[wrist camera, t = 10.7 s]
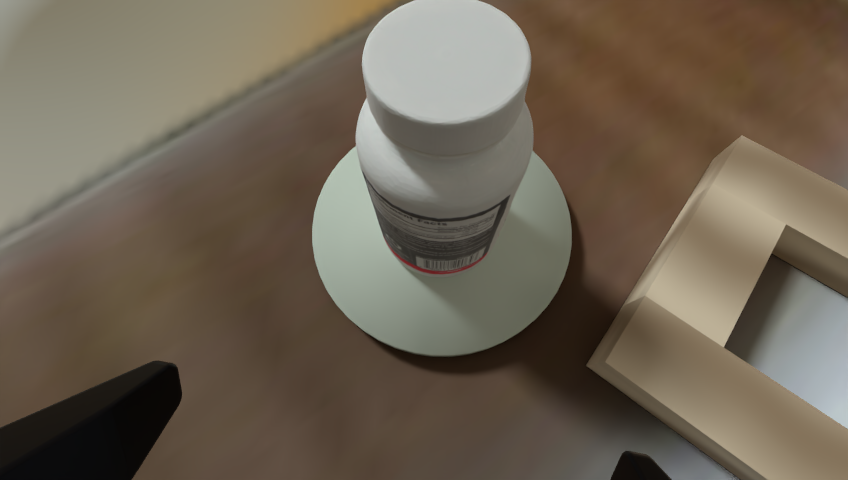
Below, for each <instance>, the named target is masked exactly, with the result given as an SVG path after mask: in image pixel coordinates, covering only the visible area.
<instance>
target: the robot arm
mask: <svg viewBox="0 0 848 480" xmlns="http://www.w3.org/2000/svg"><path fill="white" fill-rule="evenodd" d="M181 398H182V389H181V384H180V378H179V372H178V368H177V366H176V365H175V364H173V363H168V362H163V361H152V362H150V363H147V364H145V365H143V366H141V367H138V368H136V369H134V370H131V371H129V372H127V373H124V374H122V375H120V376H118V377H115V378H113V379H111V380H108V381H106V382H104V383H102V384H99V385H97V386H95V387H92V388H90V389H88V390H86V391H83V392H81V393H79V394H76V395H74V396H72V397H69V398H67V399H65V400H63V401H60V402H58V403H56V404H53V405H51V406H49V407H47V408H44V409H42V410H40V411H37V412H35V413H33V414H31V415H28V416H26V417H24V418H21V419H19V420H17V421H14V422H12V423H10V424H8V425H5V426H3V427H1V428H0V480H132V478H133V477H134V475H135V474H136V472H137V471H138V469H139V468H140V466H141V465H142V463H143V461H144V460H145V458H146V457H147V455H148V453H149V452H150V450H151V449H152V447H153V445H154V444H155V442H156V441H157V439H158V438H159V436H160V434H161V433H162V431H163V430H164V428H165V426H166V425H167V423H168V422H169V420H170V419H171V417H172V415H173V414H174V412H175V411H176V409H177V407H178V406H179V404H180V401H181ZM611 480H671V478H670V477H669V476H668V475H667V474H666V473H665V472H664V471H663V470H662V469H661V468H660V467H659V466H658V465H657V463H656V462H655V461H654V460H653V459H652V458H651V457H649V456H648V455H646V454H641V453H636V452H631V451H625V452H624V453H622V455H621V457H620V459H619V461H618V464H617V466H616V468H615V470H614V472H613V475H612V477H611Z"/></svg>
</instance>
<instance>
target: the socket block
mask: <svg viewBox="0 0 848 480" xmlns="http://www.w3.org/2000/svg"><path fill="white" fill-rule="evenodd" d="M771 253H772V254H774V255H775V256H777V257H779V258H780V259H782V260H784V261H786V262H787V263H789V264H791V265H792V266H794V267H796V268H798V269H799V270H801V271H803V272H805V273H806V274H808V275H810V276H811V277H813V278H815V279H817V280H818V281H820V282H822V283H824V284H825V285H827V286H829V287H830V288H832V289H834V290H836V291H837V292H839V293H841V294H842V295H844V296H846V297H848V190H846V189H845V188H843V187H841V186H839V185H837V184H835V183H833V182H831V181H829V180H827V179H825V178H823V177H821V176H819V175H817V174H815V173H814V172H812V171H810V170H808V169H806V168H804V167H802V166H800V165H798V164H796V163H794V162H792V161H790V160H788V159H786V158H784V157H783V156H781V155H779V154H777V153H775V152H773V151H771V150H769V149H767V148H765V147H763V146H761V145H759V144H757V143H755V142H753V141H752V140H750V139H748V138H746V137H744V136H740V137H739V138H738V139H737V140H736V141H734V142H733V143H732V144H731V145H730V146H729V147H727V148H726V149H725V150H724V151H723V152H721V153H720V154H719V155H718V156H717V157H715V158H714V159H713V161H712V162H711V164H710V165H709V167H708V169H707V170H706V172H705V174H704V175H703V177H702V178H701V180H700V182H699V183H698V185H697V186H696V188H695V190H694V191H693V193H692V195H691V196H690V198H689V199H688V201H687V203H686V204H685V206H684V208H683V209H682V211H681V212H680V214H679V216H678V217H677V219H676V220H675V222H674V224H673V225H672V227H671V229H670V230H669V232H668V233H667V235H666V237H665V238H664V240H663V242H662V243H661V245H660V246H659V248H658V250H657V251H656V253H655V254H654V256H653V258H652V259H651V261H650V263H649V264H648V266H647V267H646V269H645V271H644V272H643V274H642V275H641V277H640V279H639V280H638V282H637V284H636V285H635V287H634V288H633V290H632V292H631V293H630V295H629V297H628V298H627V300H626V301H625V303H624V305H623V306H622V308H621V309H620V311H619V313H618V314H617V316H616V318H615V319H614V321H613V322H612V324H611V326H610V327H609V329H608V331H607V332H606V334H605V335H604V337H603V339H602V340H601V342H600V343H599V345H598V347H597V348H596V350H595V352H594V353H593V355H592V356H591V358H590V360H589V361H588V363H587V365H586V366H587V367H589V368H590V369H591V370H593V371H594V372H595V373H597V374H598V375H599V376H601V377H602V378H603V379H605V380H606V381H608V382H609V383H610V384H612V385H613V386H614V387H616V388H617V389H618V390H620V391H621V392H623V393H624V394H625V395H627V396H628V397H629V398H631V399H632V400H633V401H635V402H636V403H637V404H639V405H640V406H642V407H643V408H644V409H646V410H647V411H648V412H650V413H651V414H652V415H654V416H655V417H656V418H658V419H659V420H661V421H662V422H663V423H665V424H666V425H667V426H669V427H670V428H671V429H673V430H674V431H676V432H677V433H678V434H680V435H681V436H682V437H684V438H685V439H686V440H688V441H689V442H690V443H692V444H693V445H695V446H696V447H697V448H699V449H700V450H701V451H703V452H704V453H705V454H707V455H708V456H709V457H711V458H712V459H714V460H715V461H716V462H718V463H719V464H720V465H722V466H723V467H724V468H726V469H727V470H729V471H730V472H731V473H733V474H734V475H735V476H737V477H738V478H739V479H741V480H848V429H847V428H845V427H844V426H842V425H841V424H839V423H838V422H836V421H835V420H833V419H832V418H830V417H828V416H827V415H825V414H824V413H822V412H821V411H819V410H818V409H816V408H815V407H813V406H812V405H810V404H809V403H807V402H806V401H804V400H803V399H801V398H800V397H798V396H797V395H795V394H794V393H792V392H791V391H789V390H787V389H786V388H784V387H783V386H781V385H780V384H778V383H777V382H775V381H774V380H772V379H771V378H769V377H768V376H766V375H765V374H763V373H762V372H760V371H759V370H757V369H756V368H754V367H753V366H751V365H750V364H748V363H747V362H745V361H743V360H742V359H740V358H739V357H737V356H736V355H734V354H733V353H731V352H730V351H728V350H727V349H725V348H724V346H725V344H726V342H727V340H728V338H729V336H730V334H731V332H732V330H733V328H734V326H735V324H736V322H737V320H738V318H739V316H740V314H741V312H742V310H743V308H744V306H745V304H746V302H747V300H748V298H749V296H750V294H751V292H752V290H753V289H754V287H755V285H756V283H757V281H758V279H759V277H760V275H761V273H762V271H763V269H764V267H765V265H766V263H767V261H768V259H769V257H770V255H771Z"/></svg>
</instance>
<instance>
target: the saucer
mask: <svg viewBox="0 0 848 480" xmlns="http://www.w3.org/2000/svg"><path fill="white" fill-rule="evenodd" d="M312 244H313V251H314V257H315V262H316V265H317V268H318V271H319V274H320V277H321V279H322V281H323V283H324V285H325V287H326V289H327V291H328V293H329V294H330V296H331V297H332V299H333V300H334V302H335V303H336V305H337V306H338V307H339V308H340V309H341V310H342V311H343V313H344V314H345V315H346V316H347V317H348V318H349V319H350V320H351V321H352V322H354V323H355V324H356V325H357V326H358V327H360V328H361V329H362V330H363V331H364V332H366V333H367V334H369V335H370V336H372V337H373V338H375V339H377V340H378V341H380V342H382V343H384V344H386V345H388V346H391V347H393V348H395V349H398V350H401V351H405V352H408V353H412V354H416V355H423V356H429V357H455V356H462V355H469V354H473V353H477V352H480V351H484V350H487V349H489V348H492V347H494V346H496V345H499V344H501V343H503V342H505V341H506V340H508V339H510V338H511V337H513V336H514V335H516V334H518V333H519V332H520V331H522V330H523V329H524V328H525V327H527V326H528V325H529V324H530V323H532V322H533V321H534V320H535V319H536V318H537V317H538V316H539V315H540V314H541V313H542V312H543V311H544V309H545V308H546V307H547V306H548V305H549V303H550V302H551V300H552V299H553V297H554V296H555V294H556V293H557V291H558V289H559V287H560V285H561V283H562V281H563V279H564V276H565V273H566V270H567V267H568V263H569V259H570V253H571V246H572V228H571V220H570V213H569V210H568V206H567V203H566V199H565V197H564V195H563V192H562V190H561V188H560V186H559V184H558V182H557V180H556V179H555V177H554V175H553V174H552V172H551V171H550V170H549V168H548V167H547V166H546V165H545V163H544V162H543V161H542V160H541V159H540V158H539V157H538V156H537V155H536V154H535V153H534V152H533V151H532V154H531V158H530V161H529V164H528V167H527V170H526V172H525V174H524V177H523V179H522V181H521V183H520V185H519V188H518V190H517V192H516V194H515V197H514V199H513V201H512V203H511V207H510V209H509V212H508V215H507V218H506V220H505V222H504V225H503V227H502V229H501V231H500V233H499V236H498V238H497V240H496V242H495V244H494V246H493V248H492V250H491V251H490V253H489V254H488V255H487V257H486V258H485V259H484V260H483V261H482V262H481V263H480V264H478V265H477V266H476V267H474V268H473V269H471V270H469V271H467V272H465V273H462V274H460V275H456V276H452V277H429V276H425V275H422V274H419V273H417V272H414V271H412V270H410V269H408V268H407V267H405V266H404V265H403V264H402V263H401V262H399V261H398V260H397V259H396V257H395V256H394V255H393V254H392V253H391V251H390V249H389V248H388V246H387V244H386V242H385V239H384V237H383V234H382V231H381V228H380V225H379V223H378V219H377V216H376V213H375V209H374V206H373V203H372V200H371V197H370V194H369V192H368V188H367V184H366V181H365V179H364V176H363V173H362V170H361V167H360V162H359V158H358V154H357V148H356V146H355V147H354V148H353V149H352V150H351V151H350V152H349V153H348V154H347V155H346V156H345V157H344V158H343V159H342V160H341V161H340V162H339V163H338V165H337V166H336V167H335V168H334V170H333V171H332V172H331V174H330V176H329V177H328V179H327V181H326V183H325V184H324V186H323V189H322V191H321V193H320V196H319V198H318V201H317V205H316V209H315V212H314V219H313V227H312Z"/></svg>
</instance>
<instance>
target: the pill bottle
mask: <svg viewBox="0 0 848 480" xmlns="http://www.w3.org/2000/svg"><path fill="white" fill-rule="evenodd" d="M362 69H363V76H364V82H365V88H366V93H367V99H366V100H365V102H364V104H363V106H362V109H361V111H360V115H359V118H358V123H357V129H356V148H357V154H358V158H359V162H360V167H361V170H362V173H363V176H364V179H365V181H366V184H367V188H368V192H369V194H370V197H371V200H372V203H373V206H374V209H375V213H376V216H377V219H378V223H379V225H380V228H381V231H382V234H383V237H384V239H385V242H386V244H387V246H388V248H389V249H390V251H391V253H392V254H393V255H394V256H395V257H396V259H397V260H398V261H399V262H401V263H402V264H403V265H404V266H405V267H407V268H408V269H410V270H412V271H414V272H417V273H419V274H422V275H425V276H429V277H452V276H456V275H460V274H462V273H465V272H467V271H469V270H471V269H473V268H474V267H476V266H477V265H478V264H480V263H481V262H482V261H483V260H484V259H485V258H486V257H487V255H488V254H489V253H490V251H491V250H492V248H493V246H494V244H495V242H496V240H497V238H498V236H499V233H500V231H501V229H502V227H503V225H504V222H505V220H506V218H507V215H508V212H509V209H510V207H511V203H512V201H513V199H514V197H515V194H516V192H517V190H518V188H519V185H520V183H521V181H522V179H523V177H524V174H525V172H526V170H527V167H528V164H529V161H530V158H531V154H532V149H533V123H532V119H531V115H530V112H529V109H528V107H527V105H526V103H525V93H526V89H527V85H528V81H529V77H530V71H531V53H530V49H529V45H528V42H527V40H526V38H525V36H524V34H523V32H522V31H521V29H520V28H519V27H518V25H517V24H516V23H515V22H514V21H513V20H512V19H511V18H509V17H508V16H507V15H506V14H505V13H503V12H502V11H500V10H498V9H496V8H495V7H493V6H491V5H489V4H486V3H484V2H481V1H478V0H415V1H412V2H410V3H408V4H405V5H403V6H401V7H399V8H397V9H395V10H394V11H392V12H391V13H389V14H388V15H387V16H385V17H384V18H383V19H382V20H381V21H380V22H379V23H378V24H377V25H376V26H375V27H374V29H373V30H372V32H371V33H370V35H369V37H368V39H367V41H366V44H365V47H364V51H363V59H362Z"/></svg>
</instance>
